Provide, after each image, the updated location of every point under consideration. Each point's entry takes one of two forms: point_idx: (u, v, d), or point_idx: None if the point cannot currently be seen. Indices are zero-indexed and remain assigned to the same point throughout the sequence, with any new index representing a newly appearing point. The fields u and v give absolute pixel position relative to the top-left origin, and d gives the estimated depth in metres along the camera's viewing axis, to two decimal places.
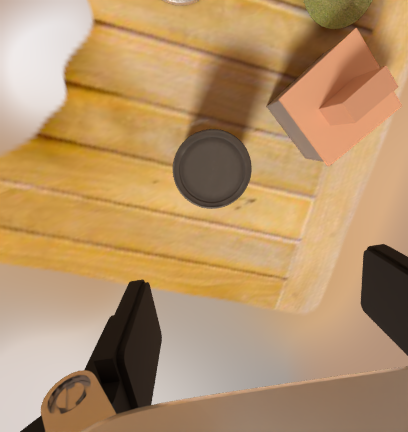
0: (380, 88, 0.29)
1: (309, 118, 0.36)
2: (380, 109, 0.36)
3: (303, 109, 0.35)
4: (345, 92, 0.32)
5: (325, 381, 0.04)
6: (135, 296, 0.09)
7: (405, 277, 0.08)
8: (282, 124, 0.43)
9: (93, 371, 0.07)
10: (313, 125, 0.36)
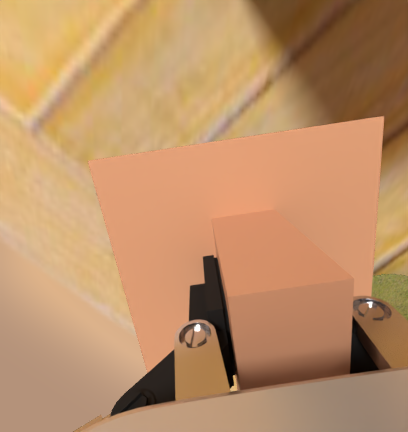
0: None
1: (269, 172, 0.11)
2: (171, 341, 0.14)
3: (303, 169, 0.11)
4: None
5: (325, 381, 0.04)
6: (215, 266, 0.10)
7: None
8: None
9: None
10: (242, 174, 0.11)
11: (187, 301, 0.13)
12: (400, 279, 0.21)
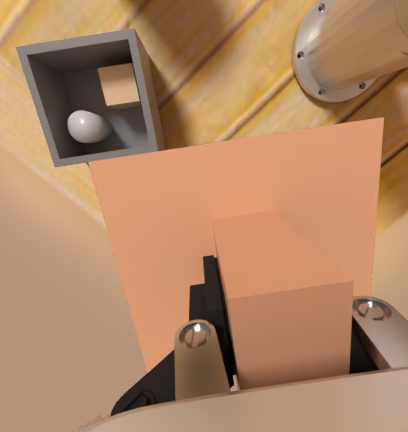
0: None
1: (268, 174, 0.11)
2: (171, 341, 0.14)
3: (303, 170, 0.11)
4: None
5: (325, 381, 0.04)
6: (215, 266, 0.10)
7: None
8: None
9: None
10: (242, 175, 0.11)
11: (187, 302, 0.13)
12: None
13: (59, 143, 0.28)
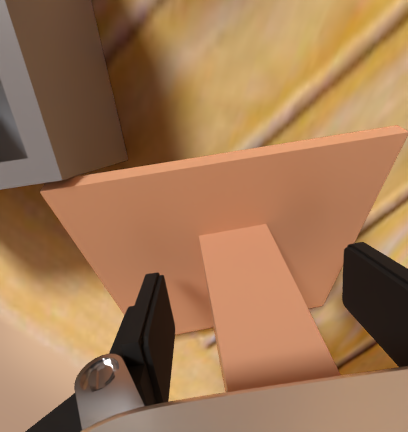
0: None
1: (266, 193, 0.10)
2: None
3: (304, 187, 0.10)
4: None
5: (325, 381, 0.04)
6: (153, 287, 0.09)
7: (378, 273, 0.08)
8: None
9: None
10: (236, 196, 0.09)
11: (173, 294, 0.13)
12: None
13: None
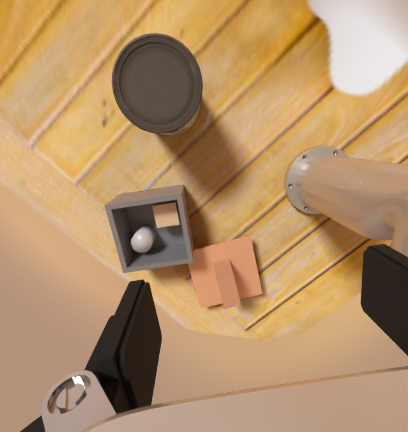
0: (229, 298, 0.42)
1: (226, 251, 0.46)
2: (206, 295, 0.49)
3: (234, 249, 0.46)
4: None
5: (325, 381, 0.04)
6: (135, 296, 0.09)
7: (405, 277, 0.08)
8: (161, 189, 0.44)
9: (93, 371, 0.07)
10: (220, 252, 0.46)
11: (209, 283, 0.48)
12: None
13: (126, 256, 0.42)
